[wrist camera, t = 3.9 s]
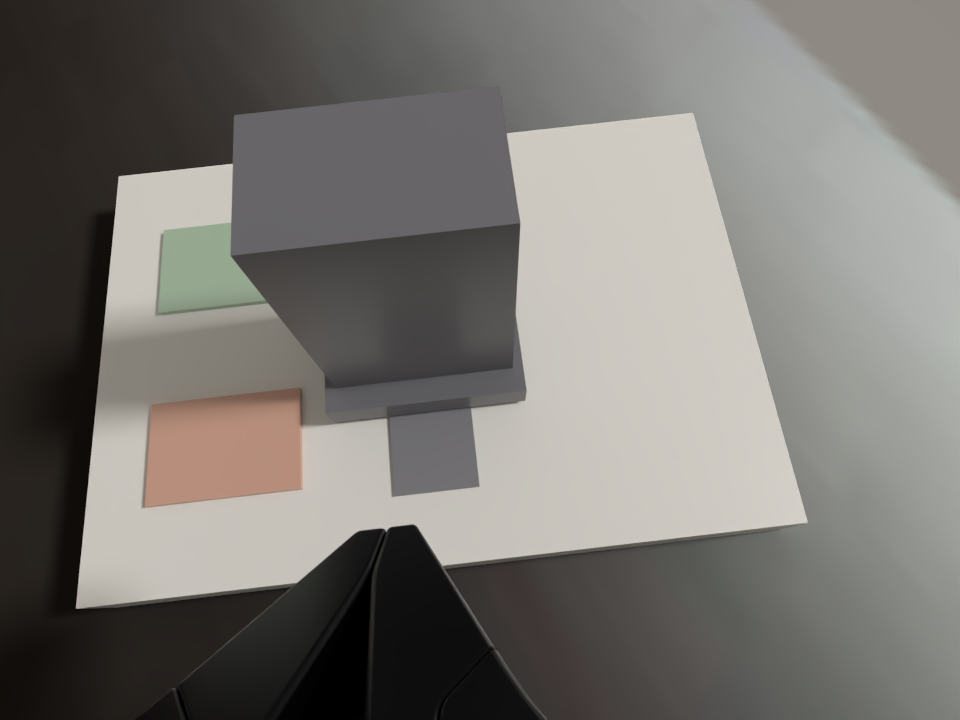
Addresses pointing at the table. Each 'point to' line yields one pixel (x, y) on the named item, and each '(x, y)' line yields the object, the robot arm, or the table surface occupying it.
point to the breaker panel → (446, 433)
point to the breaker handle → (387, 246)
